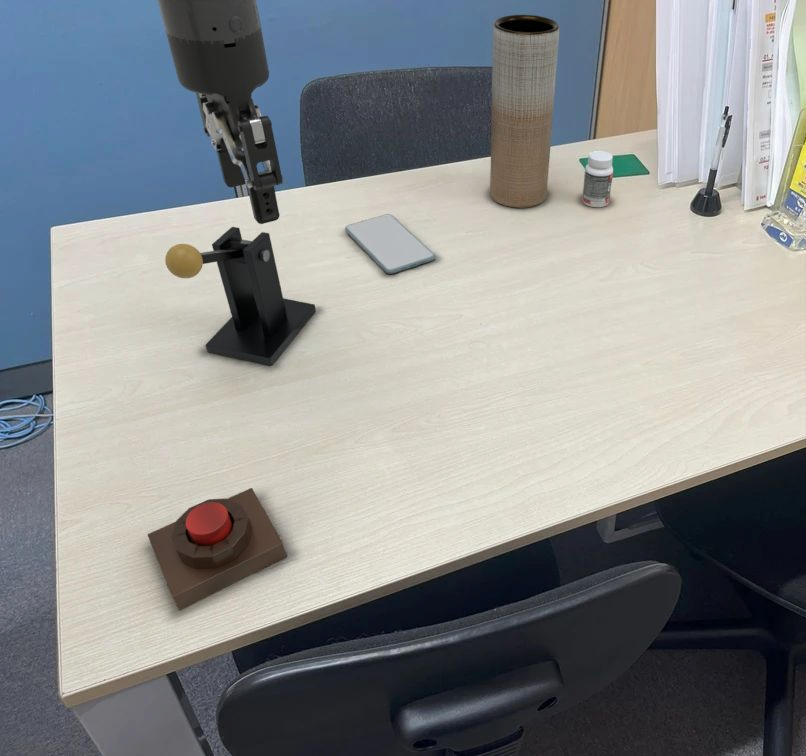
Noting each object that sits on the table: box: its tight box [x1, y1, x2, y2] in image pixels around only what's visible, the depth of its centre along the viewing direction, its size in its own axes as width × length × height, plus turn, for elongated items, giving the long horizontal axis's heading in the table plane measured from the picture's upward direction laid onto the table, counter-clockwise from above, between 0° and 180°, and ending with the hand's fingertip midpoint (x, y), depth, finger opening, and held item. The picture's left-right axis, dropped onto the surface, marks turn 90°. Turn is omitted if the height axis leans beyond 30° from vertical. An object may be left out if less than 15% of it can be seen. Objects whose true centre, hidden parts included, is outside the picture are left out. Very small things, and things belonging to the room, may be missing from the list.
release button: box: [185, 502, 232, 546], centre depth 64 cm, size 4×4×2 cm
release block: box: [147, 487, 288, 611], centre depth 65 cm, size 10×8×4 cm
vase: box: [489, 14, 560, 209], centre depth 114 cm, size 10×10×28 cm
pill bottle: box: [581, 150, 614, 208], centre depth 119 cm, size 5×5×8 cm
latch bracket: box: [205, 226, 317, 367], centre depth 88 cm, size 12×9×14 cm
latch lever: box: [164, 239, 253, 279], centre depth 79 cm, size 14×4×4 cm, turn 165°
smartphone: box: [344, 213, 436, 275], centre depth 109 cm, size 8×1×15 cm
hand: (251, 202), depth 69 cm, fingers open, 8 cm apart
